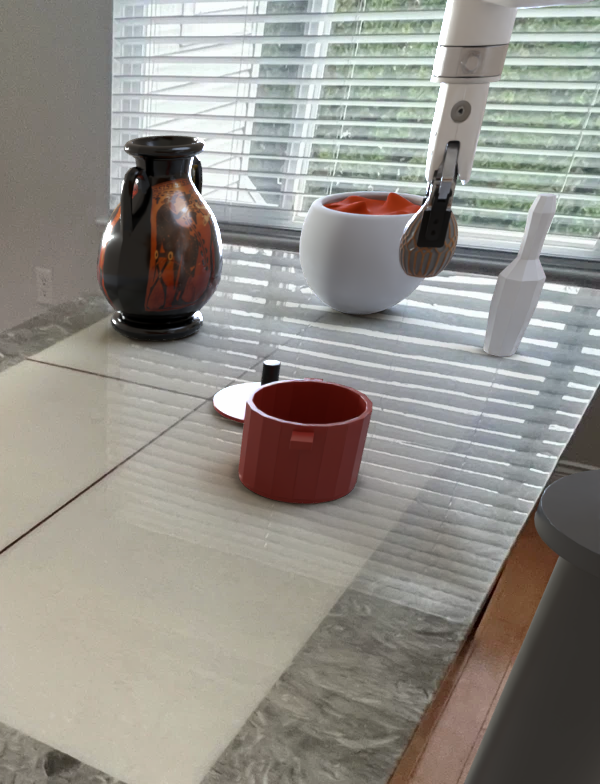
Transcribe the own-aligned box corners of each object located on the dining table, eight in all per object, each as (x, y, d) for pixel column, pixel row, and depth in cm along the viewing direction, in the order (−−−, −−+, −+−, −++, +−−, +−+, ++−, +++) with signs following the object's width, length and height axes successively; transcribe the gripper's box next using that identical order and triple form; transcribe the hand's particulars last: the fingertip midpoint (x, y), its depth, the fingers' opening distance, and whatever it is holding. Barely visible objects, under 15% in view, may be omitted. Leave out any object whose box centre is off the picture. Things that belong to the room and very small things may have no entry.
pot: (266, 312, 156) (280, 201, 144) (327, 282, 169) (345, 178, 157) (390, 336, 144) (416, 218, 132) (445, 302, 157) (474, 191, 145)
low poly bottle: (497, 360, 134) (547, 201, 119) (469, 348, 138) (513, 193, 124) (529, 354, 135) (581, 196, 121) (500, 342, 140) (547, 188, 125)
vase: (398, 265, 114) (414, 190, 109) (452, 269, 112) (471, 193, 106) (389, 278, 110) (405, 200, 104) (445, 283, 107) (464, 203, 102)
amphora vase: (149, 303, 162) (156, 127, 143) (241, 325, 150) (262, 137, 132) (71, 331, 151) (68, 144, 132) (164, 357, 139) (175, 156, 121)
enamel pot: (358, 449, 111) (374, 376, 105) (352, 520, 97) (370, 441, 91) (248, 439, 114) (257, 368, 108) (227, 507, 100) (236, 429, 94)
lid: (323, 393, 126) (331, 348, 121) (316, 435, 115) (325, 386, 110) (220, 386, 129) (224, 341, 125) (204, 425, 118) (208, 377, 114)
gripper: (510, 71, 89) (463, 257, 101) (498, 58, 102) (457, 226, 113) (435, 72, 91) (397, 255, 103) (432, 60, 104) (398, 224, 115)
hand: (429, 238), depth 108 cm, fingers closed on vase, 6 cm apart
